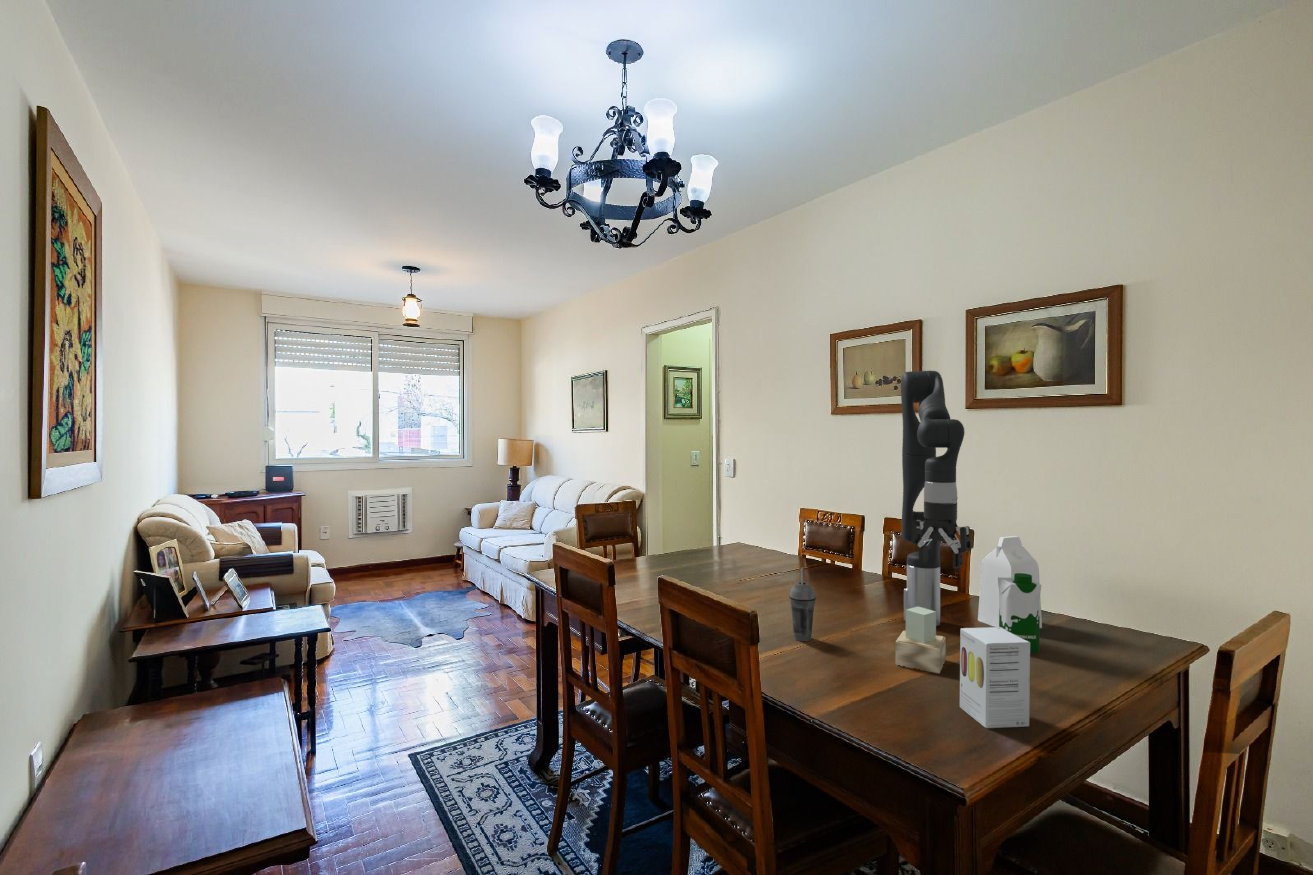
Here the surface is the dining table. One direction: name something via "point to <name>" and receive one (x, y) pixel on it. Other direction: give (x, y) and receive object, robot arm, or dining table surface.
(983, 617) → the milk
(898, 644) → the beige box
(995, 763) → the dining table surface
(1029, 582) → the milk carton
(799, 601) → the beverage cup
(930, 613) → the block
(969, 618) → the dining table surface
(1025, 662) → the supplement box
